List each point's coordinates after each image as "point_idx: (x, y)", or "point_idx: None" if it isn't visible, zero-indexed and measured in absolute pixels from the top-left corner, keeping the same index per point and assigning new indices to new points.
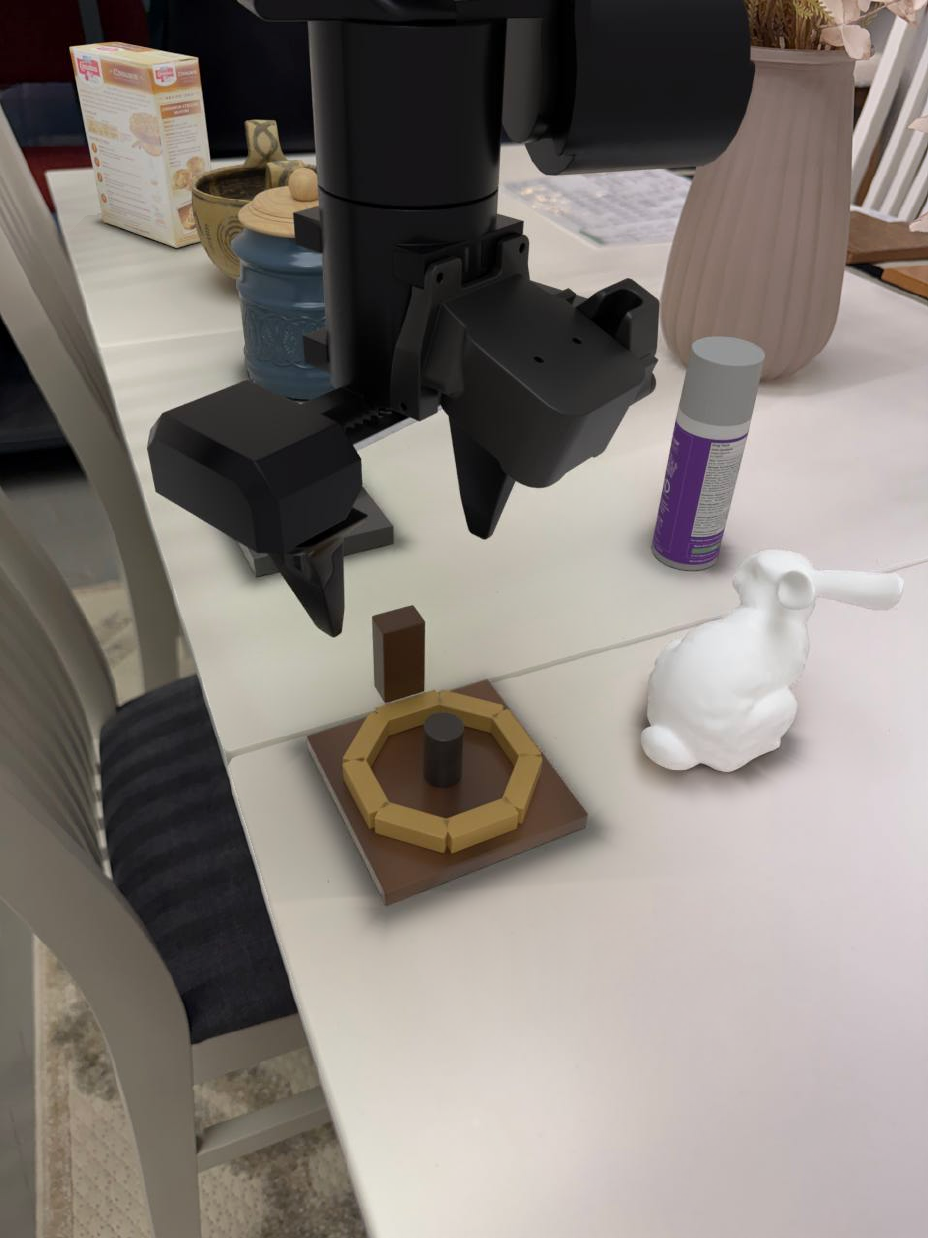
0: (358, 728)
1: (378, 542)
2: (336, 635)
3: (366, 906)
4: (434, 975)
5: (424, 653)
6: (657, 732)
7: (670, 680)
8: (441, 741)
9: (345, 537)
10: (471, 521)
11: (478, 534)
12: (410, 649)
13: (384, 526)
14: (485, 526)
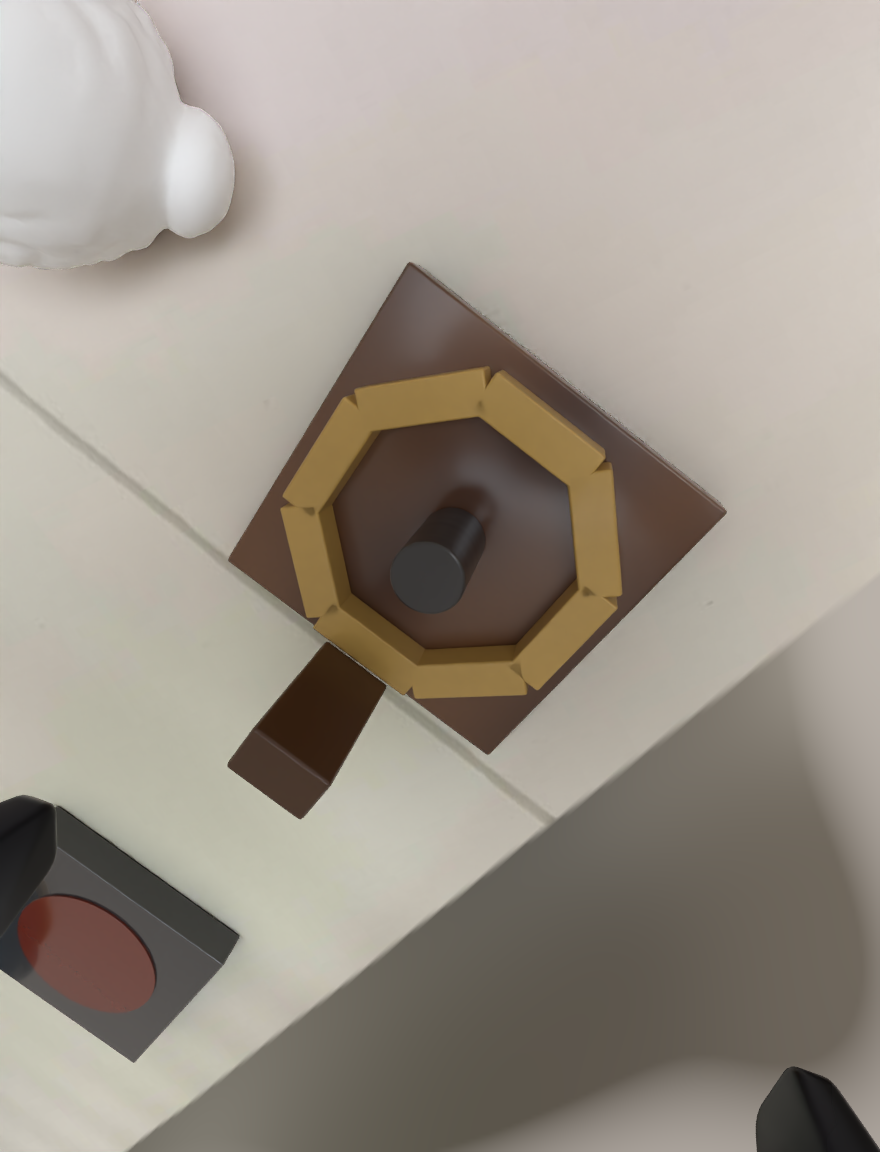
0: None
1: (73, 826)
2: (830, 1085)
3: (732, 530)
4: (819, 371)
5: (291, 685)
6: (185, 188)
7: (66, 176)
8: (462, 566)
9: (101, 877)
10: (17, 892)
11: (48, 835)
12: (308, 714)
13: None
14: (8, 849)
